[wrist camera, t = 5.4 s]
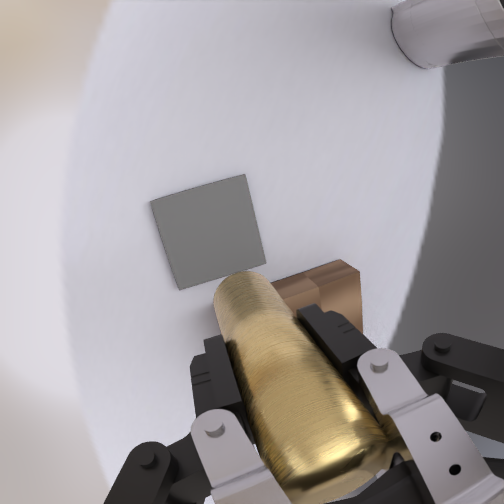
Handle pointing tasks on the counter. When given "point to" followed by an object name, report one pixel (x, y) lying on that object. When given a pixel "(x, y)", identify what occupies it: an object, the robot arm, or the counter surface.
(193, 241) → the rubber mat
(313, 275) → the walnut block
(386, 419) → the robot arm
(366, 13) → the counter surface
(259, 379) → the brass pin
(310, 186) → the counter surface
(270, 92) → the counter surface
